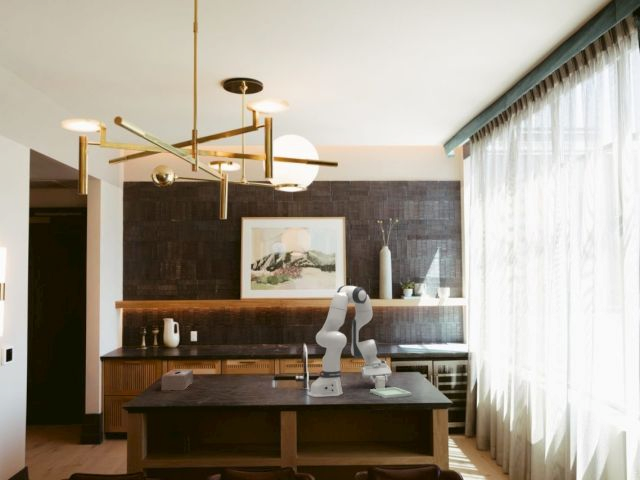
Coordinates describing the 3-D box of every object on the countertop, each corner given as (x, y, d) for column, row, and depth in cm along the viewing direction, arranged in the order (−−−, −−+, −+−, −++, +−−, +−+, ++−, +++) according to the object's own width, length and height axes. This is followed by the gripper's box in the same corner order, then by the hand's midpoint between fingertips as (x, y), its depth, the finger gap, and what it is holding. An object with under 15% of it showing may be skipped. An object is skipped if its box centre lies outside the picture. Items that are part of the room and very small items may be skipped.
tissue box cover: (183, 391, 384) (183, 375, 385) (161, 391, 384) (161, 376, 385) (192, 384, 410) (192, 369, 411) (172, 384, 410) (172, 369, 411)
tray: (385, 398, 354) (385, 395, 355) (370, 392, 373) (370, 389, 373) (411, 396, 361) (411, 392, 361) (395, 390, 380) (395, 387, 380)
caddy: (379, 389, 382) (379, 377, 382) (375, 388, 387) (375, 376, 387) (386, 389, 384) (385, 376, 384) (382, 387, 389) (381, 375, 389)
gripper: (360, 362, 389) (367, 380, 380) (388, 360, 397) (395, 377, 387) (357, 368, 393) (364, 386, 383) (385, 366, 401) (392, 383, 391)
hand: (380, 382), depth 386 cm, fingers open, 7 cm apart
